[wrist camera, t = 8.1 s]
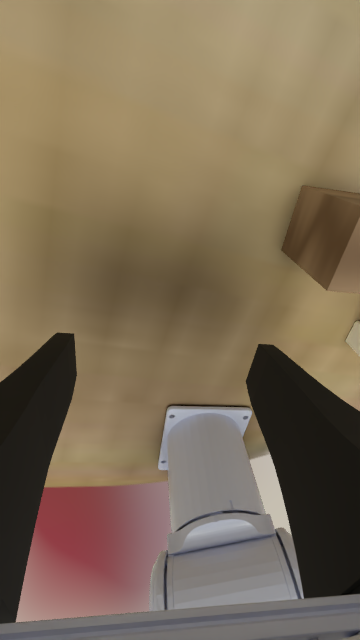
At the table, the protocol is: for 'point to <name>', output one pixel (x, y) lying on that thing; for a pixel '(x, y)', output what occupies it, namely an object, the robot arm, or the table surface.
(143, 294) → the table surface
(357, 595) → the robot arm
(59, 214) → the table surface
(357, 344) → the shelf
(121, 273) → the table surface
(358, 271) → the brown wooden mallet
